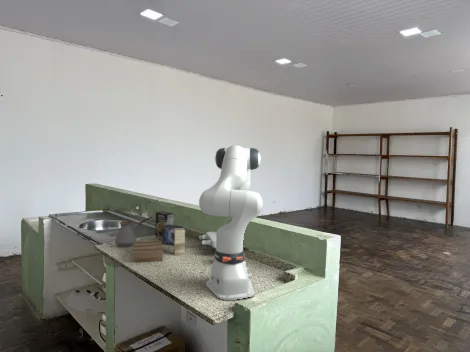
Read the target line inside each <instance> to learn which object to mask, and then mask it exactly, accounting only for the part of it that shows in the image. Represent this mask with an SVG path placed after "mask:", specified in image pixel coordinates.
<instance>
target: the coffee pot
mask: <svg viewBox="0 0 470 352" xmlns="http://www.w3.org/2000/svg"><path fill="white" fill-rule="evenodd" d="M150 219H151V220H152V221H153V220H154V219H153V216H149V217H147V218H145V219H143V220H140V221H138V223H136V224H134V225H132V221H121V222H119V224H120V228H119V230H118V233H117V235H116V236H115V240H114V242H115V244H116V245H117V246H118V247H120V246H129V247H132V246H134V241H137V238H136V237H137V236H136V235H135V233H134V230H133V228H134V227H136V226H139V225H141V224H143V223H145V222H147V221H149V220H150ZM131 225H132V226H131Z"/></svg>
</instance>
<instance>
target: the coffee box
mask: <svg viewBox="0 0 470 352" xmlns="http://www.w3.org/2000/svg"><path fill="white" fill-rule="evenodd" d="M174 217H175V216H174V212H169V211H164V210H163V211H157V212H155V239H156V240H162V230H163V226H165V225H174Z"/></svg>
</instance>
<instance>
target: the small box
mask: <svg viewBox="0 0 470 352" xmlns="http://www.w3.org/2000/svg"><path fill="white" fill-rule="evenodd" d="M175 228H184V225H176V224H175V225H174V224H173V225H165V226H163V230H162V239H161V243H162V245H167V246H172V247H174V229H175Z"/></svg>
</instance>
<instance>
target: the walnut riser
mask: <svg viewBox="0 0 470 352" xmlns="http://www.w3.org/2000/svg"><path fill="white" fill-rule="evenodd" d="M163 251H164V250H163V244H162V239H154V240H153V239H152V240H151V239H149V240H136V241H134V244H133V248H132V263H133V262H136V263H151V262H163V260H164V257H163V254H164V253H163Z"/></svg>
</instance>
